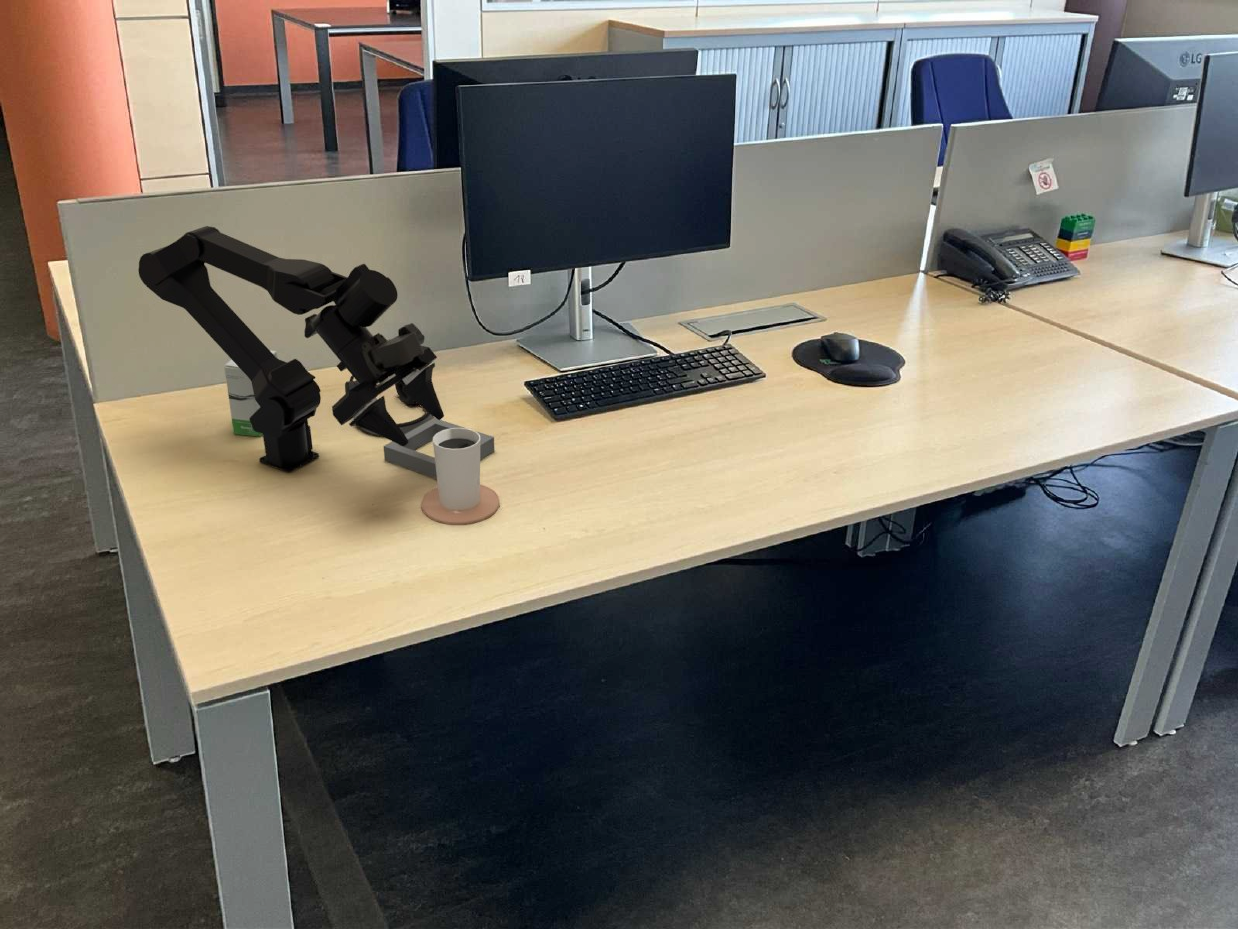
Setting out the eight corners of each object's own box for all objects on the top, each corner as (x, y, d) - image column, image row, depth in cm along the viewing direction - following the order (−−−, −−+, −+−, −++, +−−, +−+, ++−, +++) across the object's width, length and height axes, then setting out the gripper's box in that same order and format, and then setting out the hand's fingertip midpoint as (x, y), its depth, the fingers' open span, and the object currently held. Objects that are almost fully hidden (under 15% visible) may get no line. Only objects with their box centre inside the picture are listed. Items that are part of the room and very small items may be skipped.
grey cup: (476, 486, 160) (474, 425, 155) (488, 508, 154) (485, 445, 149) (432, 492, 158) (428, 431, 153) (441, 515, 152) (437, 452, 147)
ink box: (260, 438, 172) (251, 369, 167) (232, 434, 173) (221, 365, 168) (286, 415, 180) (277, 348, 174) (258, 411, 181) (249, 345, 175)
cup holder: (445, 481, 162) (444, 467, 160) (384, 460, 167) (383, 446, 166) (494, 451, 171) (494, 436, 170) (435, 431, 176) (434, 417, 175)
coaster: (467, 532, 149) (466, 529, 149) (405, 509, 154) (405, 506, 154) (514, 499, 158) (514, 495, 157) (454, 478, 163) (454, 475, 162)
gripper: (343, 334, 139) (421, 430, 141) (422, 291, 154) (492, 378, 156) (299, 379, 145) (374, 469, 147) (379, 333, 160) (446, 416, 162)
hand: (424, 431), depth 153 cm, fingers open, 9 cm apart
